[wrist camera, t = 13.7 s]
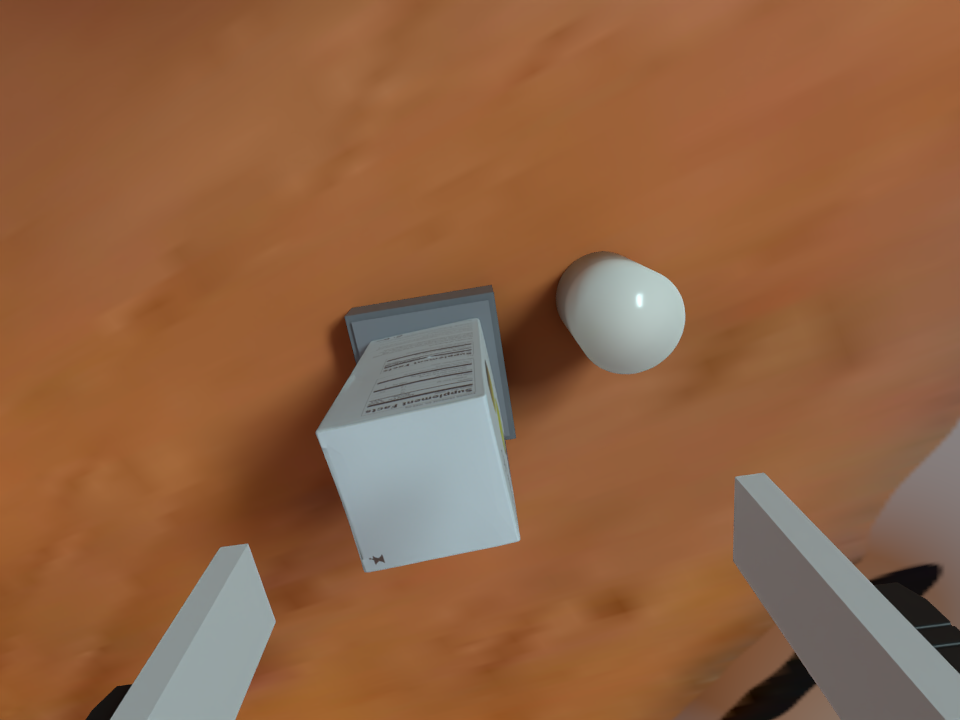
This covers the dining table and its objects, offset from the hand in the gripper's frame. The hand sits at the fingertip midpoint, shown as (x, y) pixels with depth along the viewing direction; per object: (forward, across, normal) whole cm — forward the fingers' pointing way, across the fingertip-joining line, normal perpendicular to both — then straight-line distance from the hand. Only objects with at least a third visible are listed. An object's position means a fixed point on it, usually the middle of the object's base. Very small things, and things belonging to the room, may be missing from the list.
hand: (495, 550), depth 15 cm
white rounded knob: (+33, +10, -2) cm, 35 cm away
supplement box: (+30, -4, -6) cm, 31 cm away
